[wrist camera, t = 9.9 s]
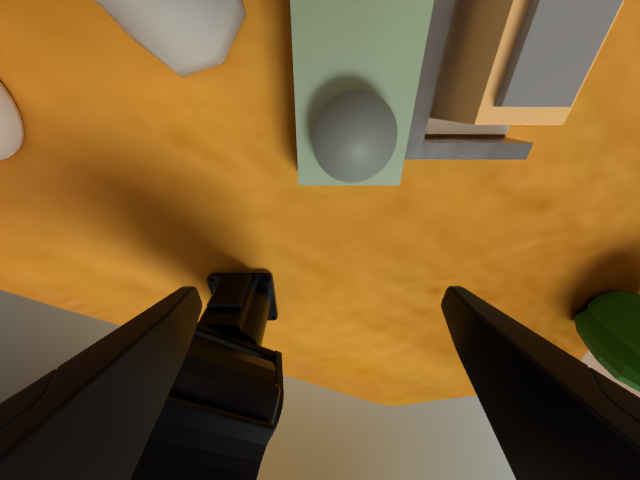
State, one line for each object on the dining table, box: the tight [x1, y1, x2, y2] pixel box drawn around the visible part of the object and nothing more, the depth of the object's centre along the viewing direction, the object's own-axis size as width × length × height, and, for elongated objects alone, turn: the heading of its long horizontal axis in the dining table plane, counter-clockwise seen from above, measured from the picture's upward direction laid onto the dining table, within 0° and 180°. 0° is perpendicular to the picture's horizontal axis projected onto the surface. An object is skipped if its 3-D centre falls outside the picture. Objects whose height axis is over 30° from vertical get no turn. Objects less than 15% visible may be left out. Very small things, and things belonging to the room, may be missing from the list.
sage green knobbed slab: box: [290, 0, 434, 185], centre depth 13 cm, size 14×7×4 cm, turn 0°
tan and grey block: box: [432, 0, 625, 125], centre depth 12 cm, size 6×4×6 cm
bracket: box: [404, 0, 533, 159], centre depth 13 cm, size 10×8×2 cm
